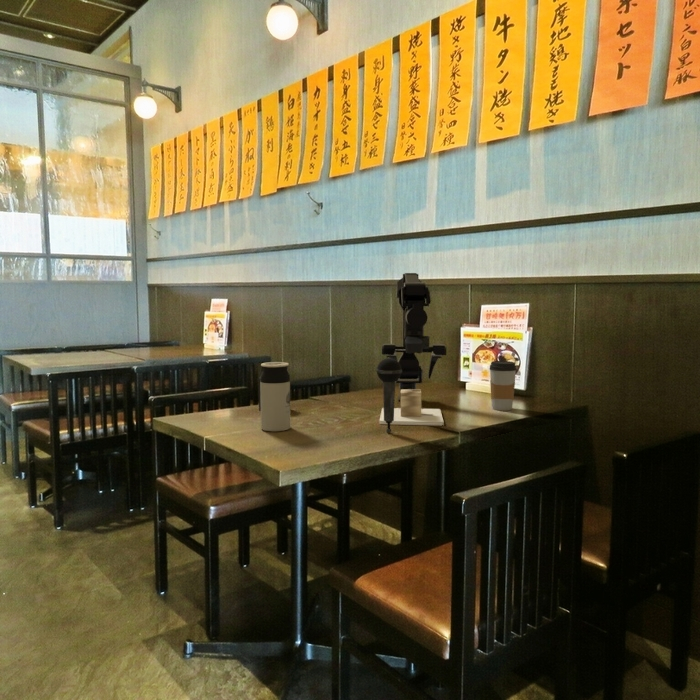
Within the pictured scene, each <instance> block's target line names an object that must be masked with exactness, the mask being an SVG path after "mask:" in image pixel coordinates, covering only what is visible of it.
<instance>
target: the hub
mask: <svg viewBox="0 0 700 700" xmlns="http://www.w3.org/2000/svg"><path fill="white" fill-rule="evenodd" d="M378 424H379V425H388V423H386V421H384V407H381V411H380V416H379V423H378ZM390 425H395V426H396V425H398V426H400V425H401V426H403V425H404V426H405V425H406V426H442V425H443V426H444V425H445V424H444V419H443V415H442V411H441V408H421V417H413V416H401V407H396V408H395V407H394V421H392V423H390Z"/></svg>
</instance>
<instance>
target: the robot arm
mask: <svg viewBox="0 0 700 700" xmlns="http://www.w3.org/2000/svg"><path fill="white" fill-rule="evenodd" d="M395 293H396V299H397V302H398V305H399V307H400V308H401V310H402V345H397V344H396V343H383V345H382V347H381V355H386V358H392V359H395V360H396V361H398V362H399V364H400V366H401V369H402V373H401V376H400V378H399V379H398V380H397V381H395V384H399V388H398V389H399V391H398V392H399V396H398V398H397V401H398V402H401V389H417V384H422V383H423V369H422V366H421V365H420V361H419V359H418V357H417V355H416V354H422V353H431V354H430V360H429V366H428V379H429V380H430V379H431V377H432V374H433V370H434V368H435V366H436V363H437V361H438V360H439V359H442V357H443V356H447V346H446V345H445V344H444V343H432V345H431V346H430V336H429V335H425V325H426V324H427V322H428V313H427V311H425V309H424V308H425V307H429V306H430V304H431V301H432V300H431V299H432V298H431V291H430V289H429V287H428V286H427V285H426V283H425V282H423V281H421V280H420V278H419V273H416V272H405V273H403V274H402V277H401V278H400V279H398V281H397V282H396V292H395ZM398 353H401V354H400V356H399V358H398V355H397V354H398Z"/></svg>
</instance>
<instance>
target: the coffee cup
mask: <svg viewBox="0 0 700 700" xmlns="http://www.w3.org/2000/svg"><path fill="white" fill-rule="evenodd" d="M490 363H491V364H489V377H490V380H489V381H490V382H489V383H490V385H489V386H490V400H491V408H492V409H493V410H494V411H503V412H507V411H511V410H512V409H513V405H514V404H513V403H514V397H515V385H516V371H517V366H516V362H514V361H508V360H494V361H491V362H490Z"/></svg>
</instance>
